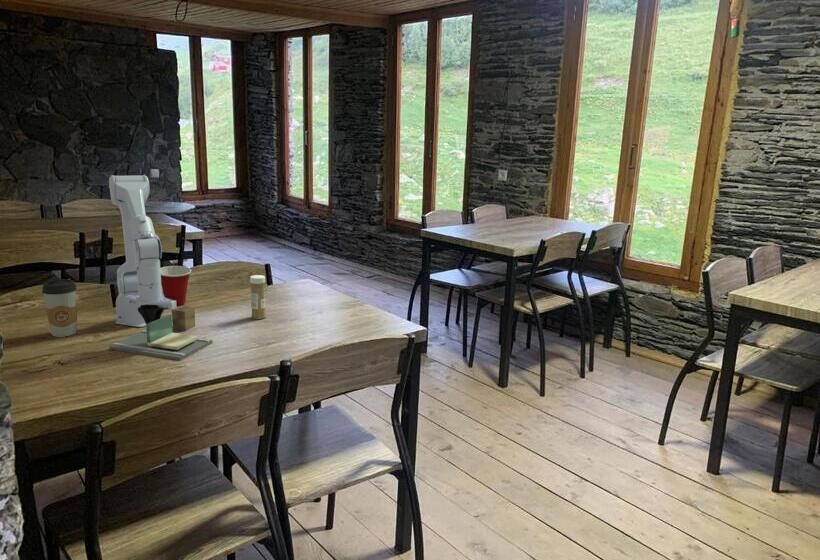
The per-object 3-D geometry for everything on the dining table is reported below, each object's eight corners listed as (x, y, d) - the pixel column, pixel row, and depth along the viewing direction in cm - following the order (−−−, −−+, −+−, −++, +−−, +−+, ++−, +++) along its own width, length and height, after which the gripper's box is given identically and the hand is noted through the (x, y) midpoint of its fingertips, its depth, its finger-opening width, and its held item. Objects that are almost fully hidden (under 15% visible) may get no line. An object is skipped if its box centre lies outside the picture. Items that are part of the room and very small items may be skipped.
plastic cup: (168, 311, 195) (165, 274, 192) (152, 303, 202) (150, 268, 199) (199, 304, 203) (197, 270, 200) (183, 297, 210) (181, 264, 207)
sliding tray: (147, 347, 161) (145, 324, 159) (169, 336, 169) (168, 314, 168) (177, 352, 158) (175, 328, 157) (197, 341, 167) (196, 318, 165)
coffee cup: (46, 340, 166) (40, 287, 162) (48, 331, 173) (42, 280, 169) (80, 336, 170) (75, 284, 166) (81, 327, 177) (76, 277, 173)
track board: (109, 349, 161) (109, 344, 161) (145, 332, 174) (145, 328, 174) (180, 360, 156) (180, 356, 155) (212, 342, 169) (212, 338, 168)
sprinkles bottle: (268, 318, 191) (267, 277, 188) (254, 320, 189) (252, 278, 186) (262, 314, 195) (262, 273, 192) (249, 316, 193) (247, 275, 189)
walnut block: (172, 329, 179) (171, 309, 177) (182, 324, 183) (181, 305, 181) (185, 331, 177) (184, 311, 176) (195, 326, 182) (194, 307, 180)
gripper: (116, 283, 160) (120, 332, 163) (162, 289, 156) (166, 339, 159) (134, 277, 166) (138, 324, 170) (180, 282, 162) (183, 330, 166)
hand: (153, 331), depth 165 cm, fingers closed
